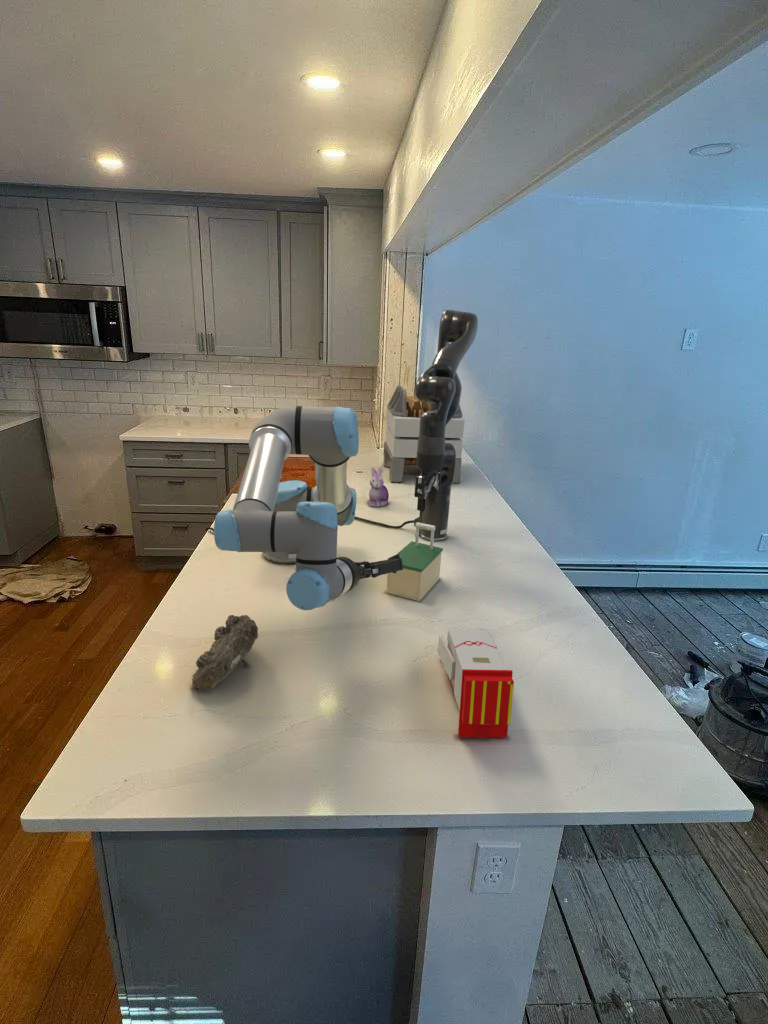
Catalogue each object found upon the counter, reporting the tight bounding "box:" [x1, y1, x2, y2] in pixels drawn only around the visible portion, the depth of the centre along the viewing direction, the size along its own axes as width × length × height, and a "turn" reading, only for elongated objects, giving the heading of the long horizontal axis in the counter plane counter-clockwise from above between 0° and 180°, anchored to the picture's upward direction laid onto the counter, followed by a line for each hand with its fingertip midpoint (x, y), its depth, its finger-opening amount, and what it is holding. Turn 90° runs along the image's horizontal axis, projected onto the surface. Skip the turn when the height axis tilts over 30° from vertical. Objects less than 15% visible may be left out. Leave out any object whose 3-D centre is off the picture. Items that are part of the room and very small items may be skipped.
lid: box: [395, 522, 444, 572], centre depth 159 cm, size 17×10×8 cm, turn 155°
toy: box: [437, 628, 515, 738], centre depth 117 cm, size 12×13×30 cm
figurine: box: [367, 466, 390, 507], centre depth 227 cm, size 9×10×15 cm
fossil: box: [191, 614, 259, 691], centre depth 123 cm, size 22×10×15 cm
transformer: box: [383, 384, 465, 484], centre depth 268 cm, size 34×33×41 cm
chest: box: [386, 552, 442, 602], centre depth 162 cm, size 16×10×9 cm, turn 155°
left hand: (371, 562), depth 135 cm, fingers open, 13 cm apart
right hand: (426, 506), depth 161 cm, fingers open, 8 cm apart
